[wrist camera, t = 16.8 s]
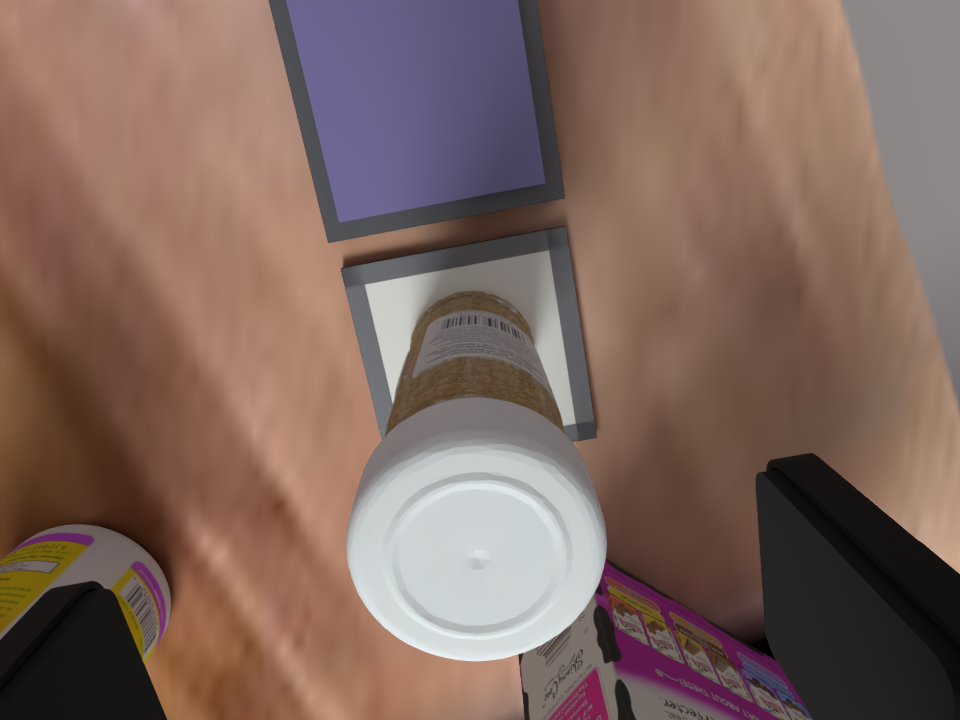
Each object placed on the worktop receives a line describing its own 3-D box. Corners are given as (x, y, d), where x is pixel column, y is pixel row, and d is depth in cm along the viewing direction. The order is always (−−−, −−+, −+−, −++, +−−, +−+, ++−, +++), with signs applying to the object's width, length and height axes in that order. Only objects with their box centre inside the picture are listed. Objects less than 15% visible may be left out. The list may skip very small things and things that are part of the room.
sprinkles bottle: (390, 375, 24) (297, 612, 11) (445, 265, 23) (412, 388, 10) (500, 428, 25) (532, 709, 12) (559, 322, 24) (664, 507, 11)
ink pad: (275, -10, 21) (259, -25, 19) (522, -62, 21) (526, -80, 19) (335, 239, 23) (325, 244, 22) (560, 196, 23) (566, 198, 21)
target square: (342, 267, 23) (340, 268, 23) (564, 225, 23) (565, 226, 23) (391, 469, 26) (390, 473, 25) (595, 434, 25) (596, 437, 25)
